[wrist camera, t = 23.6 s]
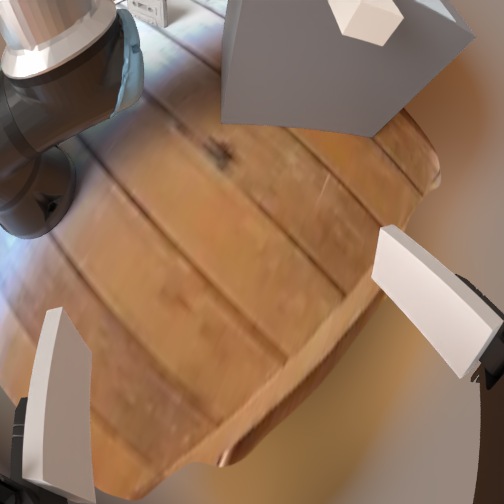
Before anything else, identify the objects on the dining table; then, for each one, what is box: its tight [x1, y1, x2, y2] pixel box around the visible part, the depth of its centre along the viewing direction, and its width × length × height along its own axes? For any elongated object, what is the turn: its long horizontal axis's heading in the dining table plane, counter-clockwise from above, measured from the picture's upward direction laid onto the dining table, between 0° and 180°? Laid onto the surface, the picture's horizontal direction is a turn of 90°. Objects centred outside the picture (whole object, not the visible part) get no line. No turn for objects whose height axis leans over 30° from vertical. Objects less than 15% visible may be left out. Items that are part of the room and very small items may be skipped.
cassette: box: [127, 0, 167, 28], centre depth 41 cm, size 12×2×8 cm, turn 52°
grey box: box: [221, 0, 476, 138], centre depth 32 cm, size 20×26×29 cm
